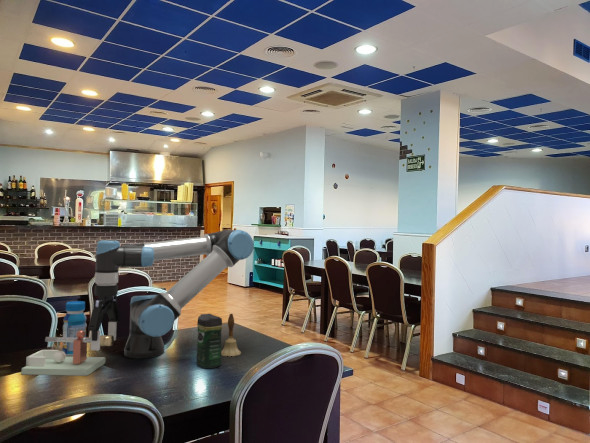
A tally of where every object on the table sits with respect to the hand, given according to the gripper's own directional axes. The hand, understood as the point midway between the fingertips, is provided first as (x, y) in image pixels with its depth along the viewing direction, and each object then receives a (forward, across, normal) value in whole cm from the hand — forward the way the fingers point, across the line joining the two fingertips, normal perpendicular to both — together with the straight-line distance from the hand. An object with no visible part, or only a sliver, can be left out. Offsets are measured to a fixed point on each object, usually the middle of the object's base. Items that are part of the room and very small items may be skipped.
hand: (103, 344), depth 152 cm
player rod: (+6, 0, -9) cm, 11 cm away
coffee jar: (+8, -7, +36) cm, 37 cm away
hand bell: (+8, -22, +42) cm, 48 cm away
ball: (+5, 0, -16) cm, 16 cm away
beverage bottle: (+9, -18, -19) cm, 28 cm away
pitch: (+9, 0, -13) cm, 16 cm away
